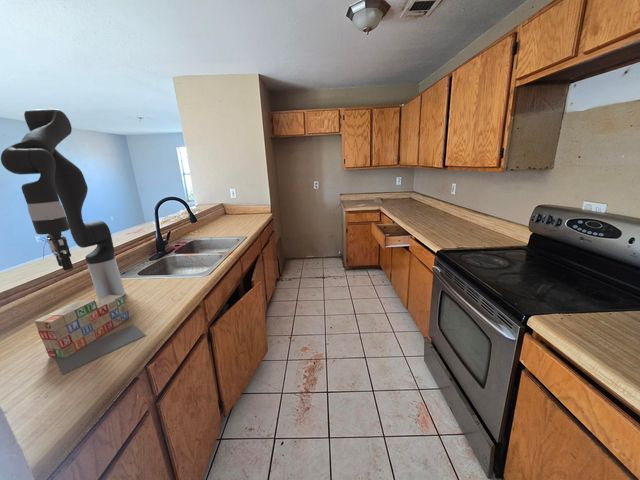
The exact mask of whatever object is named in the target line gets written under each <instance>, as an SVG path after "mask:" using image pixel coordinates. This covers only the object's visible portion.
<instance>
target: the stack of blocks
mask: <svg viewBox="0 0 640 480" xmlns="http://www.w3.org/2000/svg"><path fill="white" fill-rule="evenodd" d="M128 310H129V309H128V306H127V303H126V301H125V298H124V296H123V295H108V296H106V297H104V298H102V299H100V300H98V299H97V300H95V299H79V300H76V301H73V302H72V303H70V304H68V305H65V306H64V307H61V308H59V309H57V310H55V311H53V312H51V313H47V314H46V315H44V316H41V317H40V318H37V319H35V320H34V324H35V326H36V329H37V332H38V335H39V337H40V339H41V341H42V344H43V346H44V348H45V350H46V353H47V355H48V357H50V358H56V357H58V358H66V357H68V356H69V355H71V354H73V353H74V352H76V351H78V350H79V349H81V348H82V347H84V346H86V345H87V344H89V343H91V342H93V341H95V340H97V339H99V337H100V338H101V337H102V335H105V334H106V333H108V332H109V331H111V330H112V329H115V328H116V327H117V326H119V325H120V324H122V323H123V322H125V321H127V320H129V319H130V318H131V317H130V315H129V311H128Z"/></svg>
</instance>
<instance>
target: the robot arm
mask: <svg viewBox="0 0 640 480" xmlns="http://www.w3.org/2000/svg"><path fill="white" fill-rule="evenodd" d="M23 116H24V121H25V123H26V125H27V127H28V128H27V129H29V132H28V133H26V134H25V135H24V136H23V138H22V139H21V140H20V141H18V142H16V143H14V144H12V145H10V146H8V147H5V149H4V150H3V151H2V152H1V155H0V162H1V164H2V166H3V167H4V169H6V170H7V171H8V172H10V173H12V174H16V175H37V174H39V178H38V180H35V181H32V182H31V181H30V182H27V183H24V184H22V185H21V191H22V194H23V197H24V200H25V202H26V205H27V211H28V214H29V217H30V220H31V222H32V226H33V228H34V231H35V233H36V234H37V235H46V242H47V244H48V245H49V249H50V251H51V253H53V256H55V258H56V261H57V264H58V266H60V267H62V269H63V270H64V271H70V270H73V269H74V266H73V263H72V259H71V257H72V253H71V252H70V251H71V250H70V247H69V245H68V239H67V238H66V237H67V236H64V235H62V234H63V233H62V232H67V231H70V234H71V236H72V239H73V241H74V243H75V244H76V245H77V246H78V247H80V248H82V249H84V248H89V247H93V246H96V247H95V249H94V250H92V251H91V252H89V253H88V254H86V256H85V257H84V258H85V262H86V265H87V268H88V271H89V274H90V276H91V277H90V278H91V280H92V284H93V287H94V290H95V293H96V296H97V301H98V300H100V299H102V298H104V297H106V296H108V295H123V297H124V296H125V295H126V291H125V288H124V284H123V280H122V276H121V273H120V270H119V267H118V264H117V263H118V262H117V260H116V256H115V247H114V242H113V237H112V233H111V230H110V227H109V226H108V224H107V223H106V222H104V221H102V220H95V221H90V222H85V223H84V220H83V214H82V213H83V212H82V211H83V209H82V208H83V205H84V203H85V200H86V198H87V194H88V190H89V189H88V184H87V182H86V179H85V176H84V174H83V172H82V170H81V169H80V168H79V167H78V166H77V165H76V164H74V163H73V162H72V161H70V160H69V158H66V157H65V156H64V155H63V154H62V153H61V152H60V151H58V150H57V149H56V148H57V146H58V145H59V144H60V143H61V142H62V141H64V140H65V139H66V138H67V137H69V136H70V135H71V133H72V123H71V122H70V119H69V118H68V116H67V115H66V114H65V112H63V111H62V110H61V109H58V108H40V109H26V110H25V112H24V115H23Z"/></svg>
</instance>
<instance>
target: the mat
mask: <svg viewBox="0 0 640 480" xmlns="http://www.w3.org/2000/svg"><path fill="white" fill-rule="evenodd" d="M146 336H147V334H146V333H144V332H143V331H142V330H141V329H139V328H138V327H137V326H136V325H135V324H130V325H127V326H125V327H123V328H121V329H118V330H115V331H114V332H112V333H109V334H107V335H104V336H101V337H100V338H97V339H95V340H94V341H92V342H91V343H89V344H87V345H86V346H84V347H82V348H81V349H79V350H78V351H76V352H74V353H73V354H71V355H69V356H68V357H66V358H58V357H54V360H55V361H56V364H57V366H58V368H59V370H60V371H61V375H63V376H64V375H66V374H68V373H70V372H73V371H74V370H77V369H79V368H81V367H83V366H85V365H88V364H89V363H91V362H93V361H95V360H98V359H99V358H102V357H104V356H106V355H108V354H110V353H112V352H114V351H117V350H119V349H121V348H123V347H125V346H126V345H129V344H131V343H133V342H135V341H137V340H139V339H142V338H143V337H146Z"/></svg>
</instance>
